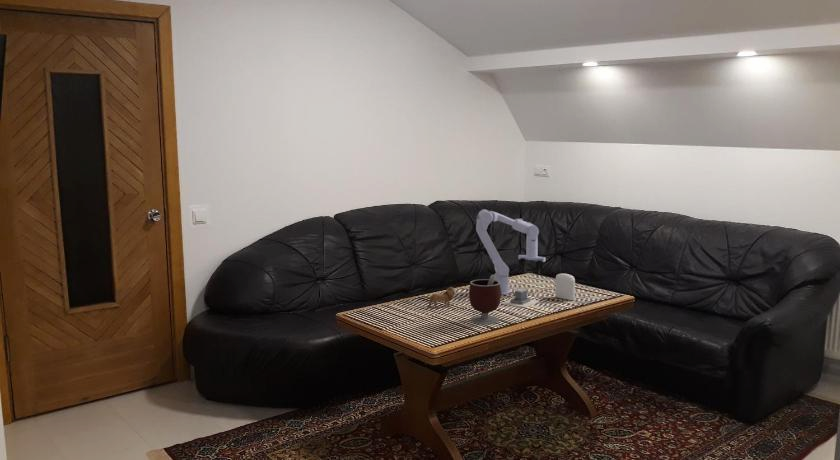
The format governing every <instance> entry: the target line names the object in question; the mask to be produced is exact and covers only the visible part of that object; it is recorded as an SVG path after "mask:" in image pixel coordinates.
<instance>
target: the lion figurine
mask: <svg viewBox="0 0 840 460" xmlns="http://www.w3.org/2000/svg"><path fill="white" fill-rule="evenodd" d="M455 295H456V290H455V287H453V286H450V287H447V289H446V290H445V291H444V292H442V293H436V292H435V293H433V294H431V295H430V297H429V299H428V300H429V301H428V305H427V307H426V308H427V309H428V308H432V305H431V304H432V303H434V304H433V306H434V308H435V309H439V306H437V303H438V302H444V306H445V307H447V308H451V306H450V303H451V301H452V300H453V299H454V297H455Z"/></svg>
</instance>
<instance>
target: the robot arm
mask: <svg viewBox="0 0 840 460" xmlns="http://www.w3.org/2000/svg"><path fill="white" fill-rule="evenodd" d="M498 221H499V222H501V223H503V224H506V225H510V226H511V227H512V229H513V230H514V231H517V232H520V233H523V234H526V241H525V242H526V245H525V246H526V247H525V249H526V250H525V251H526V253H525V254H518V258H517V259H518V262H519V264H520V266H521V268H522V272H523V274H524V275H525V274H527V270H528V269H527V268H528V267H527V266H528V261H535V266H536V276H540V275H541V272H542V271H541V270H542V268H543V266H544V264H545V262H546V259H547V258H546V257H543V256H538V255H539V254H538V252H539V251H538V249H539V248H538V238H539V237H538V236H539V234H540V230H539V227H538V226H536V225H535V224H534V223H532V222H529V221H524V220H523V218H515V219H513V218H511V217H508V216H506V215H504V214H501V213H500V212H499V213H498V212H496V211H494V210H488V209H485V208H484V209H481V210H480V211H479V212H478V214H477V216H476V225H475V226H476V227H475V229H476V230H475V231H476V233H477V236H479V239H480V241H481V242H482V244H483V246H484V248H485V250H486V251H487V254H488V255H489V257H490V259H491V261H492V264H493V265H494V267H493V268H494V271H495V273H497V275H496V277H495V279H494V280H496V281H499V282H500V287H501V295H503V296H504V295H507V294H511V292H512V293H513V291H512V290H509V288H510V287H509V284H510V283H509V279H510V278H509V277H510V276H509V275H510V274H509V273H510V268H509V266H508V265H507V264H506V263H505V262H504V261H503V259H502V257H501V256H500V254H499V252H498V250H497V248H496V246H495V244H494V243H493V241H492V238H491V236H490V235H489V233H488V231H487V230H488V226H489V225H490V224H491V223H492V222H498ZM493 275H494V274H491V275H490V277H489V279H490V278H491V277H492V276H493Z"/></svg>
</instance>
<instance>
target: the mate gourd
mask: <svg viewBox="0 0 840 460" xmlns="http://www.w3.org/2000/svg"><path fill="white" fill-rule="evenodd" d="M492 275H493V276H492V277H491V276H490V277H491V278H490V277H489V279H486V278H485V279H484V278H483V279H474V280H471V281H470V282H469V283H470V284H469V289H468V298H469V303H470V306H471V307H472V308H473V310H475V311H477V312H479V313H481V314H480V315H476V316H473V317H471V318H470V321H471V323H473V324H477V325H483V326H484V325H486V326H487V325H488V326H489V325H495V324H498V323H499V322H500V318H499V317H497V316H493V315H489V313H491V312H494V311H496V310H497V308H498V307H499V306H500V305H501V298H502V294H501V287H500V282H499V281H496V280H494V279H495V277H496V275H497V273H496V272H495V273H494V274H492Z"/></svg>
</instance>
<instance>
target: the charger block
mask: <svg viewBox="0 0 840 460" xmlns="http://www.w3.org/2000/svg"><path fill="white" fill-rule="evenodd" d="M514 298H515V300H518V301H523V300H526V299H527V298H528V289H526V288H518V289H517V288H516V289H515V290H514Z"/></svg>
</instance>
